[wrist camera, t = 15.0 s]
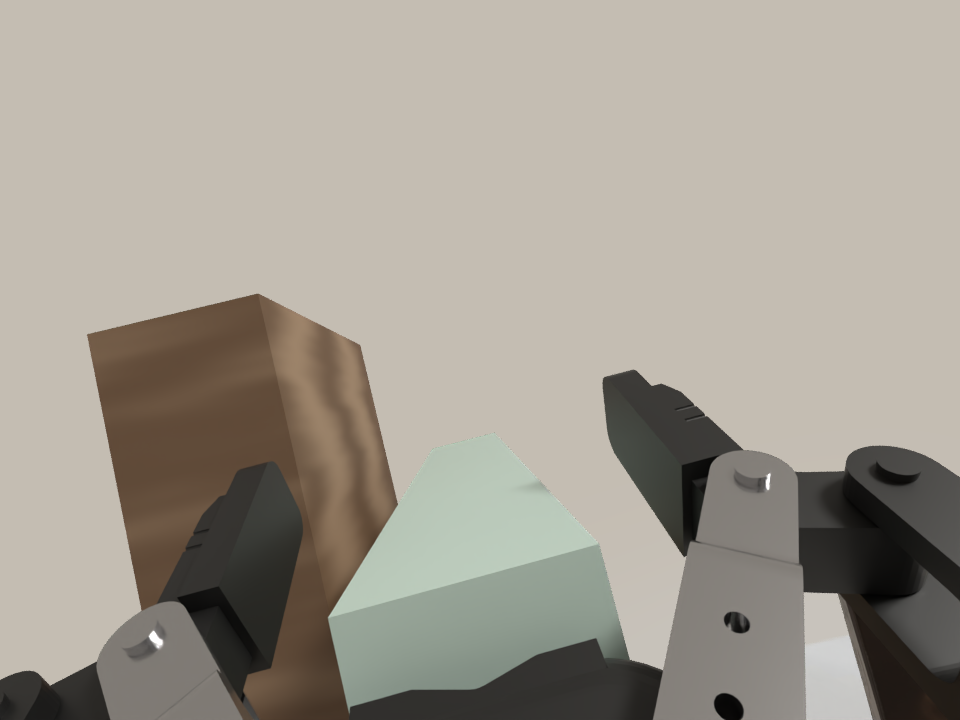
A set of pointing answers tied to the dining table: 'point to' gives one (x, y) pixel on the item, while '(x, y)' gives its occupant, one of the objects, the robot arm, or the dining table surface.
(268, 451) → the brown wooden tall block
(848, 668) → the dining table surface
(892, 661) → the coffee box
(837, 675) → the dining table surface
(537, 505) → the sage bar
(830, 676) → the dining table surface
